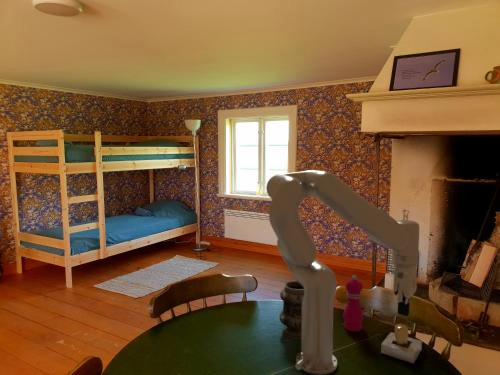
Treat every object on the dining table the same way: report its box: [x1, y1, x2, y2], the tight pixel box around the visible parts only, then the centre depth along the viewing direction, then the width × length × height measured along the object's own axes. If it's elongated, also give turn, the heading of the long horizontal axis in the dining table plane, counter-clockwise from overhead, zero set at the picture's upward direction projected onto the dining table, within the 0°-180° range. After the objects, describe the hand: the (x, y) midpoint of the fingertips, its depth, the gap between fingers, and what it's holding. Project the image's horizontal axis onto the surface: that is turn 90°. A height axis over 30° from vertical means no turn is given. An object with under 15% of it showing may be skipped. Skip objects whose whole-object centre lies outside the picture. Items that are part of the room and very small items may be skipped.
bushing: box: [394, 323, 409, 348], centre depth 122 cm, size 4×4×8 cm
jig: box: [380, 331, 423, 364], centre depth 122 cm, size 10×10×3 cm
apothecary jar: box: [279, 280, 304, 340], centre depth 134 cm, size 12×12×18 cm
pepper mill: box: [342, 274, 364, 332], centre depth 137 cm, size 7×7×20 cm
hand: (403, 314), depth 121 cm, fingers closed
